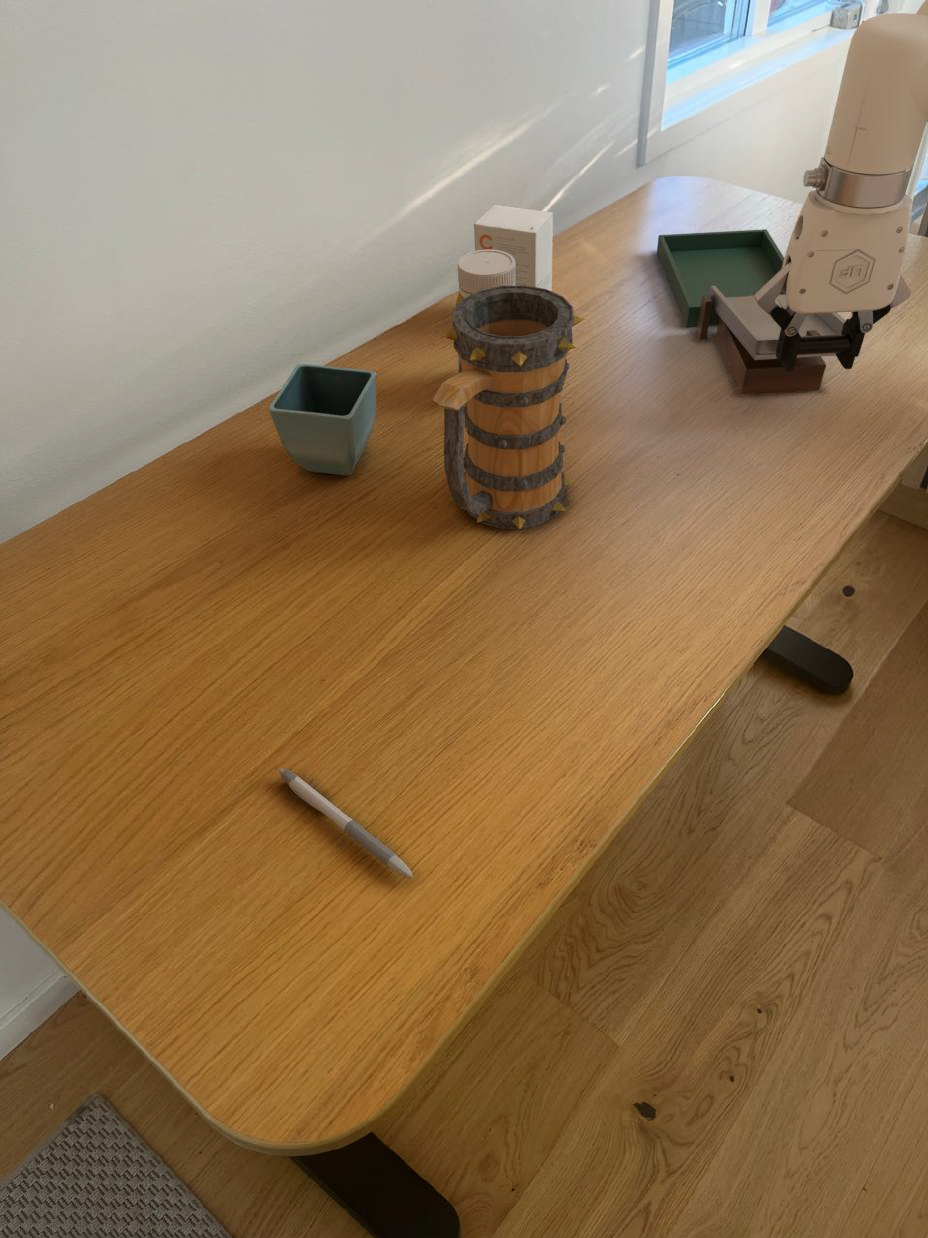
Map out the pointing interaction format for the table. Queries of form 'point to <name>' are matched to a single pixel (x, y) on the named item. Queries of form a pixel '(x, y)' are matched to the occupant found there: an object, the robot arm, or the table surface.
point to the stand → (760, 362)
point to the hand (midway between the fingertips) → (814, 362)
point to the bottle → (484, 272)
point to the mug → (507, 405)
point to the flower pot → (325, 416)
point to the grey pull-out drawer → (778, 328)
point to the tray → (717, 266)
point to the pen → (345, 823)
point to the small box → (520, 241)
